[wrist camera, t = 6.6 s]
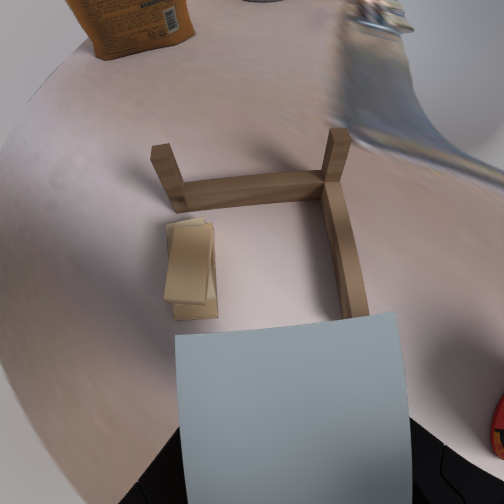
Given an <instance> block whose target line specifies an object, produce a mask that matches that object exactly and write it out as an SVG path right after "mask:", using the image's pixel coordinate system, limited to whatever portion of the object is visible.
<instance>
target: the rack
mask: <svg viewBox="0 0 504 504" xmlns="http://www.w3.org/2000/svg"><path fill="white" fill-rule="evenodd" d="M350 145H351V138H350V135H349V132H348V130H347V128H330V130H329V135H328V140H327V145H326V150H325V155H324V160H323V164H322V169H321V170H311V171H295V172H282V173H270V174H258V175H248V176H238V177H228V178H219V179H210V180H202V181H194V182H186V183H184V181H183V178H182V176H181V173H180V170H179V168H178V165H177V163H176V160H175V157H174V155H173V152H172V149H171V147H170V144H169V143H168V144H162V145H156V146H152V151H151V158H150V160H151V162H152V164H153V166H154V169H155V171H156V173H157V175H158V177H159V179H160V181H161V183H162V185H163V187H164V189H165V191H166V193H167V195H168V197H169V200H170V202H171V204H172V206H173V208H174V210H175V212H176V213H183V212H192V211H201V210H209V209H219V208H228V207H238V206H248V205H258V204H269V203H280V202H292V201H305V200H318V199H320V200H321V205H322V209H323V214H324V218H325V223H326V228H327V233H328V238H329V243H330V248H331V253H332V258H333V264H334V269H335V275H336V280H337V286H338V292H339V298H340V304H341V310H342V317H343V319H350V318H357V317H363V316H370V315H369V309H368V303H367V298H366V292H365V287H364V282H363V277H362V272H361V267H360V263H359V258H358V253H357V249H356V244H355V240H354V236H353V231H352V227H351V223H350V219H349V215H348V211H347V207H346V203H345V200H344V196H343V192H342V188H341V185H340V179H341V175H342V172H343V169H344V165H345V162H346V159H347V155H348V152H349V148H350Z"/></svg>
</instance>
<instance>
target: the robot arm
mask: <svg viewBox="0 0 504 504" xmlns="http://www.w3.org/2000/svg"><path fill="white" fill-rule="evenodd" d="M409 420H410V434H411V452H412V504H504V481H502V480H500V479H498V478H497V477H495V476H493V475H491V474H489V473H487V472H486V471H484V470H482V469H480V468H479V467H477V466H475V465H474V464H472V463H470V462H469V461H467V460H466V459H465V458H463V457H462V456H460V455H459V454H457V453H456V452H455V451H453V450H452V449H451V448H449V447H448V446H447V445H444V443H443V442H441V441H440V440H439V439H437V438H436V437H435V436H434V435H432V434H431V433H430V432H428V431H427V430H426V429H425V428H423V427H422V426H421V425H419V424H418V423H417V422H416V421H414V420H413V419H412V418H410V417H409ZM118 504H188V498H187V491H186V483H185V475H184V466H183V457H182V447H181V436H180V426H179V427H178V429H177V430H176V431H175V433H174V434H173V435H172V437H171V438H170V439H169V440H168V442H167V443H166V444H165V446H164V447H163V448H162V450H161V451H160V452H159V454H158V455H157V456H156V458H155V459H154V460H153V461H152V463H151V464H150V465H149V467H148V468H147V469H146V470H145V472H144V473H143V474H142V476H141V477H140V478H139V479H138V482H136V483H135V484H134V485H133V487H132V488H131V489H130V490H129V492H128V493H127V494H126V495H125V496H124V498H123V499H122V500H121V501H120V502H119V503H118Z"/></svg>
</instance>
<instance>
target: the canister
mask: <svg viewBox="0 0 504 504" xmlns="http://www.w3.org/2000/svg"><path fill="white" fill-rule="evenodd" d="M244 1H251V2H276V1H282V0H244Z"/></svg>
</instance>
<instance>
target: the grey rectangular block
mask: <svg viewBox="0 0 504 504" xmlns="http://www.w3.org/2000/svg"><path fill="white" fill-rule="evenodd" d="M175 358H176V380H177V397H178V412H179V424H180V436H181V447H182V457H183V466H184V475H185V483H186V491H187V498H188V504H412V452H411V434H410V420H409V408H408V398H407V389H406V381H405V373H404V365H403V358H402V352H401V345H400V339H399V333H398V327H397V322H396V316H395V311H394V312H388V313H382V314H376V315H370V316H363V317H357V318H350V319H343V320H336V321H328V322H321V323H313V324H304V325H296V326H287V327H277V328H267V329H256V330H245V331H233V332H219V333H204V334H186V335H175Z"/></svg>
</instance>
